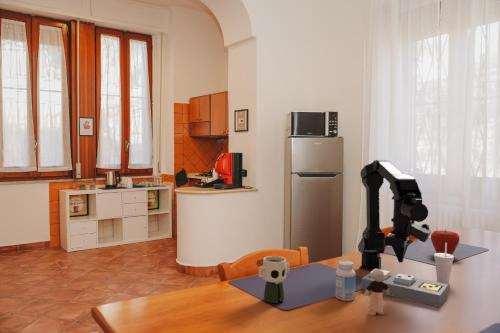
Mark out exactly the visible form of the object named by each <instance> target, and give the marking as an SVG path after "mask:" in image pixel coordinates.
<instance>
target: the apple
mask: <svg viewBox="0 0 500 333" xmlns="http://www.w3.org/2000/svg"><path fill="white" fill-rule="evenodd" d="M430 240H431V244H432V246H433V248H434V251H435V253H445V243H447V254H450V255H454V253H455V251H456V249H457V247H458V245H459V243H460V235H459V234H458V233H457V232H454V231H449V230H446V229H445V230H434V231H433V232H431V234H430Z"/></svg>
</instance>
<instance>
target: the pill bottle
mask: <svg viewBox="0 0 500 333" xmlns="http://www.w3.org/2000/svg"><path fill="white" fill-rule="evenodd" d="M337 267H338V268H337V269H336V270H335V297H336V298H338V300H339V299H340V300H341V301H342V302H343V301H344V302H349V301H351V302H352V301H354V300H355V298H356V271H355V269H354V262H353V261H351V260H339V261H338V262H337Z"/></svg>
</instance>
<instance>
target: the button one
mask: <svg viewBox="0 0 500 333" xmlns="http://www.w3.org/2000/svg"><path fill="white" fill-rule="evenodd" d="M374 270H376V269H374ZM374 270H373V271H374ZM379 270H381V271H382V272H383V273H384V277H383V279H382V280H387V279H388V278H390V273H391V271H389V270H386V269H385V270H384V269H381V268H380V269H379ZM373 271H372V270H370V272H369V273H370V277H372V272H373ZM372 278H373V277H372Z"/></svg>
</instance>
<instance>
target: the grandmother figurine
mask: <svg viewBox="0 0 500 333" xmlns="http://www.w3.org/2000/svg"><path fill="white" fill-rule="evenodd" d="M381 270H382V269H380V270H379V269H376V270H374V271H373V272H372V277H373V278H374V280H375V281H372V282H371V283H370V284H369V286H368V287H367V288H366V290H364V291H365V292H364V293H363V295H364V296H365V297H368V295H369V294H370V292H371V295H370V298H369V307H368V309H369V310H368V311H367V312H368V315H369V316H376V315H383V316H384V314H385V313H384V308H383V307H384V305H383V301H384V300H383V296H384V294H383V289H384V290H385V291H386V293H387V294H389V293H390V291H389V289H388V286H387V285H386V284H385V283H384V282H382V279H383V277H384V273H383V272H382V271H381ZM387 294H386V295H387Z"/></svg>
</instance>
